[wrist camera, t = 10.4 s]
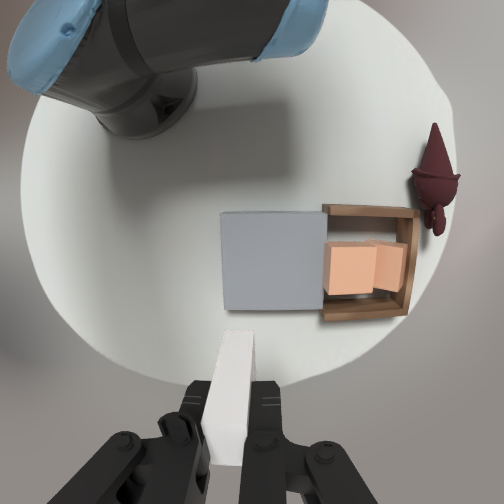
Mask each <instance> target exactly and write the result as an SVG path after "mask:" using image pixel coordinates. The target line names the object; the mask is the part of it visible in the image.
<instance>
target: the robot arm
mask: <svg viewBox="0 0 504 504" xmlns="http://www.w3.org/2000/svg"><path fill="white" fill-rule="evenodd" d="M328 1H329V0H36V1H35V2H34V3H33V5H32V6H31V7H30V8H29V10H28V11H27V13H26V14H25V16H24V17H23V19H22V20H21V22H20V24H19V26H18V28H17V30H16V32H15V34H14V36H13V39H12V42H11V45H10V48H9V52H8V57H7V71H8V75H9V77H10V79H12V82H13V83H14V84H15V85H17V86H19V87H21V88H23V89H25V90H27V91H29V92H31V93H32V94H35V95H38V94H39V95H43V96H47V97H50V98H53V99H56V100H59V101H62V102H65V103H68V104H71V105H74V106H77V107H80V108H82V109H85V110H88V111H91V112H92V113H93V114H94V115H95V116H96V118H97V120H98V121H99V123H100V124H101V125H102V126H103V127H104V128H105V129H106V130H107V131H109V132H110V133H112V134H114V135H117V136H120V137H123V138H127V139H145V138H149V137H152V136H155V135H157V134H159V133H161V132H163V131H165V130H167V129H168V128H169V127H171V126H172V125H173V124H175V123H176V122H177V121H178V120H179V119H180V118H181V117H182V115H183V114H184V113H185V112H186V110H187V109H188V107H189V105H190V104H191V102H192V100H193V97H194V94H195V91H196V86H197V73H196V69H195V67H201V66H207V65H214V64H222V63H230V62H240V61H250V62H258V61H261V60H262V59H269V58H282V57H293V56H297V55H300V54H302V53H303V52H304V51H306V50H307V49H308V48H309V47H310V46H311V45H312V44H313V43H314V41H315V40H316V38H317V36H318V34H319V32H320V30H321V27H322V24H323V22H324V18H325V15H326V11H327V6H328ZM255 375H256V367H255V344H254V330H225V332H224V336H223V340H222V344H221V348H220V351H219V355H218V359H217V363H216V367H215V370H214V374H213V378H212V381H199V380H194V381H193V382H192V383H191V384H190V385H189V386H188V388H187V390H186V393H185V397H184V398H183V401H182V404H181V407H180V410H179V412H172V413H168V414H166V415H164V416H162V417H161V418H160V419H159V421H158V425H159V428H160V430H161V432H162V435H163V436H162V437H158V438H150V439H140V437H139V436H138V435H137V434H135V433H133V432H129V431H121V432H118V433H116V434H114V435H113V436H111V437H110V439H109V440H108V441H107V442H106V443H105V444H104V445H103V446H102V447H101V448H100V449H99V450H98V451H97V452H96V453H95V454H94V455H93V457H92V458H91V459H90V460H89V461H88V462H87V463H86V464H85V465H84V466H83V467H82V468H81V469H80V470H79V471H78V472H77V473H76V474H75V475H74V477H73V478H71V479H70V481H69V482H68V483H67V484H66V485H65V486H64V487H63V488H62V489H61V490H60V491H59V492H58V493H57V494H56V495H55V496H54V497H53V498H52V499H51V500H50V501H49V502H48V503H47V504H205V501H206V495H207V489H208V484H209V478H210V471H209V462H210V460H211V463H212V464H217V465H233V466H242V473H241V484H240V494H239V504H286V491H291V492H296V493H300V495H301V497H302V499H303V502H304V504H378V503H377V501H376V500H375V498H374V497H373V495H372V494H371V492H370V490H369V489H368V487H367V485H366V484H365V482H364V481H363V479H362V477H361V476H360V474H359V473H358V471H357V469H356V468H355V466H354V465H353V463H352V461H351V460H350V458H349V457H348V455H347V453H346V452H345V450H344V449H343V448H342V447H341V446H340V445H339V444H337V443H335V442H331V441H322V442H317V443H315V444H313V445H311V446H310V447H307V446H301V445H297V444H294V443H292V442H290V441H289V440H288V439H286V438H285V436H284V434H283V431H282V418H281V417H282V416H281V399H280V388H279V386H278V385H277V384H276V382H275V381H255Z"/></svg>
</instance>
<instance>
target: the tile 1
mask: <svg viewBox="0 0 504 504" xmlns="http://www.w3.org/2000/svg"><path fill="white" fill-rule="evenodd" d="M376 253H377V247H376V246H374V245H372V244H370V243H368V242H325V245H324V266H323V283H322V286H323V287H324V289H325V290H326V292H327V293H328V295H341V294H361V293H372V291H373V283H374V274H375V264H376Z"/></svg>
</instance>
